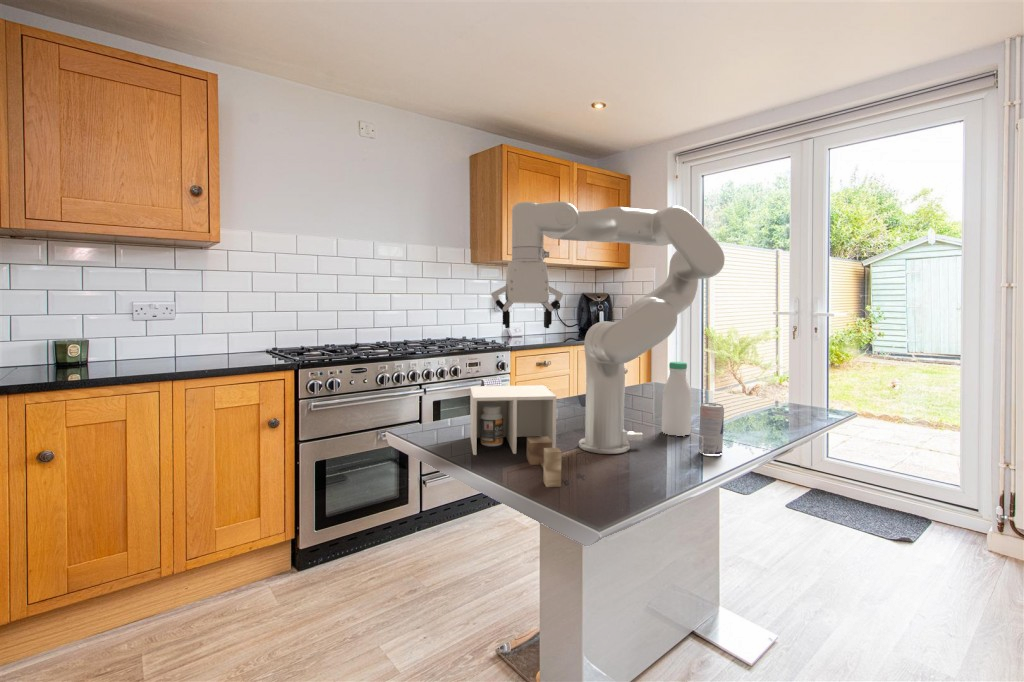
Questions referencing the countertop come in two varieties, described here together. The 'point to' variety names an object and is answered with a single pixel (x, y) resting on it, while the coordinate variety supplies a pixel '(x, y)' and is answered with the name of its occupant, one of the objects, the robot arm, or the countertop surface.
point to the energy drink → (711, 428)
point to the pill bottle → (491, 425)
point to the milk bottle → (677, 401)
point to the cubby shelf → (515, 412)
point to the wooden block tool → (545, 459)
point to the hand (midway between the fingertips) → (527, 327)
